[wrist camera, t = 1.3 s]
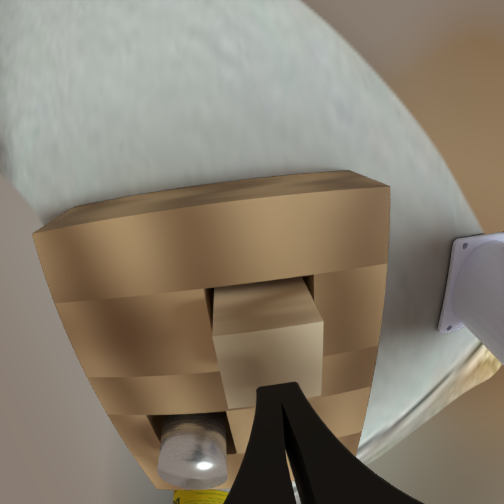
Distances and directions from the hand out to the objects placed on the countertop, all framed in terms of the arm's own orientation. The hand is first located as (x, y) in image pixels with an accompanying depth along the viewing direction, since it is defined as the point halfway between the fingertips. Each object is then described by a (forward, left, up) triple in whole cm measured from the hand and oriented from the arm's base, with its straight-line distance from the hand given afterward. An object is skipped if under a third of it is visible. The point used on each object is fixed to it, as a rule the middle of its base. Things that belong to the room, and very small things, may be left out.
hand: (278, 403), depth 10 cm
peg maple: (0, 0, -7) cm, 7 cm away
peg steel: (+5, +8, -7) cm, 12 cm away
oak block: (+2, +5, -10) cm, 11 cm away
